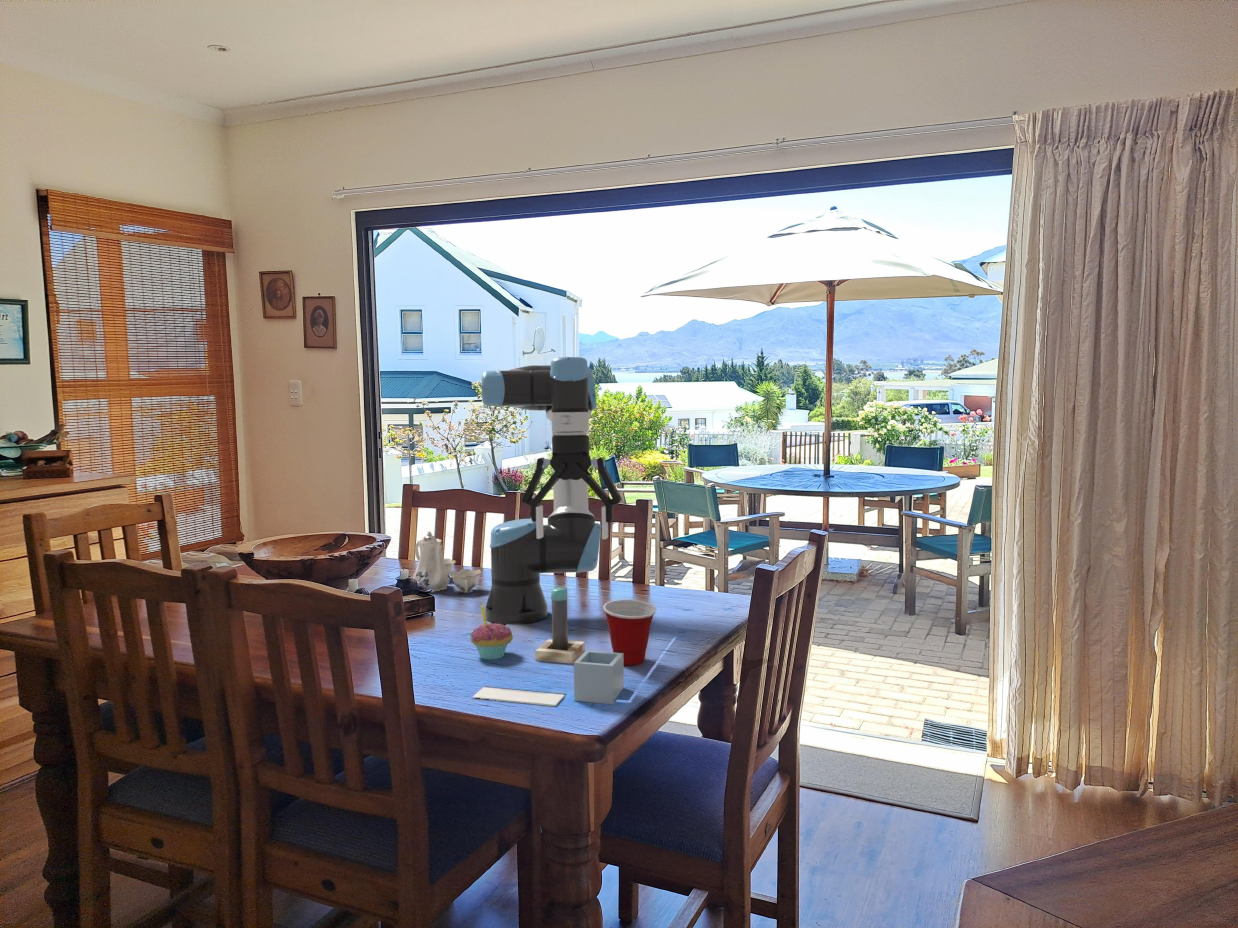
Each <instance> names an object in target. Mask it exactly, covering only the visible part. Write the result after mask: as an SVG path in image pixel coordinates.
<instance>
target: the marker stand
mask: <svg viewBox="0 0 1238 928" xmlns="http://www.w3.org/2000/svg"><path fill="white" fill-rule="evenodd" d="M585 651H586V643H585V641H579V640H578V641H577V640H568V650H555V649H553V646H552V638H549V639H547V640H546V641H545V642H543V643H542V644H541V645H539V647H538V648H537V649H535V651H534V655H535V656H534V659H535V660H534V661H539V662H548V663H558V664H560V663H561V664H562V663H563V664H573V665H574V662H575V661H576V660H577V659H578V658H579V657H580V656H581V655H582V654H583V653H584V652H585Z"/></svg>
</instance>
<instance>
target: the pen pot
mask: <svg viewBox="0 0 1238 928" xmlns="http://www.w3.org/2000/svg"><path fill="white" fill-rule="evenodd" d="M624 667H625V666H624V664H623V653H613V651H612V652H611V651H610V652H609V651H600V650H599V651H598V650H586V649H585V652H584V653H583V654H582V655H581V656H580V657H579V658H578V659H577V660H576V661H575V662H574V663H573V691H574V692H573V694H574V701H575V702H582V703H583V702H585V703H594V704H604V705H605V704H606V705H614V704H615V703H616V701H617V700H618V698H617V697H618V696H619V695H620V693H621V692H622V691H623V689H624V685H625V684H624V683H625V680H624V679H625V678H624V675H625V674H624V672H625V671H624Z"/></svg>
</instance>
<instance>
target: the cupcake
mask: <svg viewBox="0 0 1238 928" xmlns="http://www.w3.org/2000/svg"><path fill="white" fill-rule="evenodd" d="M480 611H481V617H482V621H483V624H482V625H479V626H477V627H476V628H474V630H473V631H472V632H471V634H470V642H471V643H472V644H473V645H474V646H475V648H476V650H477V652H478V655H479V658H480V659H483V660H497V659H500V658H503V657H504V656H505V653H506V649H507V647H508V644H510V643H512V641H513V639H514V637H513V633H512V631H511V628H509V627H508V626H506V625H505V624H500V623H494V622H490V623H488V622H487V621H488V620H487V619H486V615H485V606H484V605H483V604H482V601H480Z"/></svg>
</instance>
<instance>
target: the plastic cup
mask: <svg viewBox="0 0 1238 928" xmlns="http://www.w3.org/2000/svg"><path fill="white" fill-rule="evenodd" d="M602 609H603V611H604V613H605V618H606V621H607V625H608V633H609V638H610V639H609V640H610V643H611V645H610V646H611V648H612V652H613V653H623V664H624V667H636V666H640V665H642V664H643V663H644V662H645V659H646V654H647V649H648V643H649V637H650V631H651V624H652V621H653V619H654V616H655V614H656V611H657V610H658V609H657V607H656V605H653V604H652V603H650V602H647V601H643V600H637V599H615V600H611V601H608V602H606V603H604V605H603V606H602Z"/></svg>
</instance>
